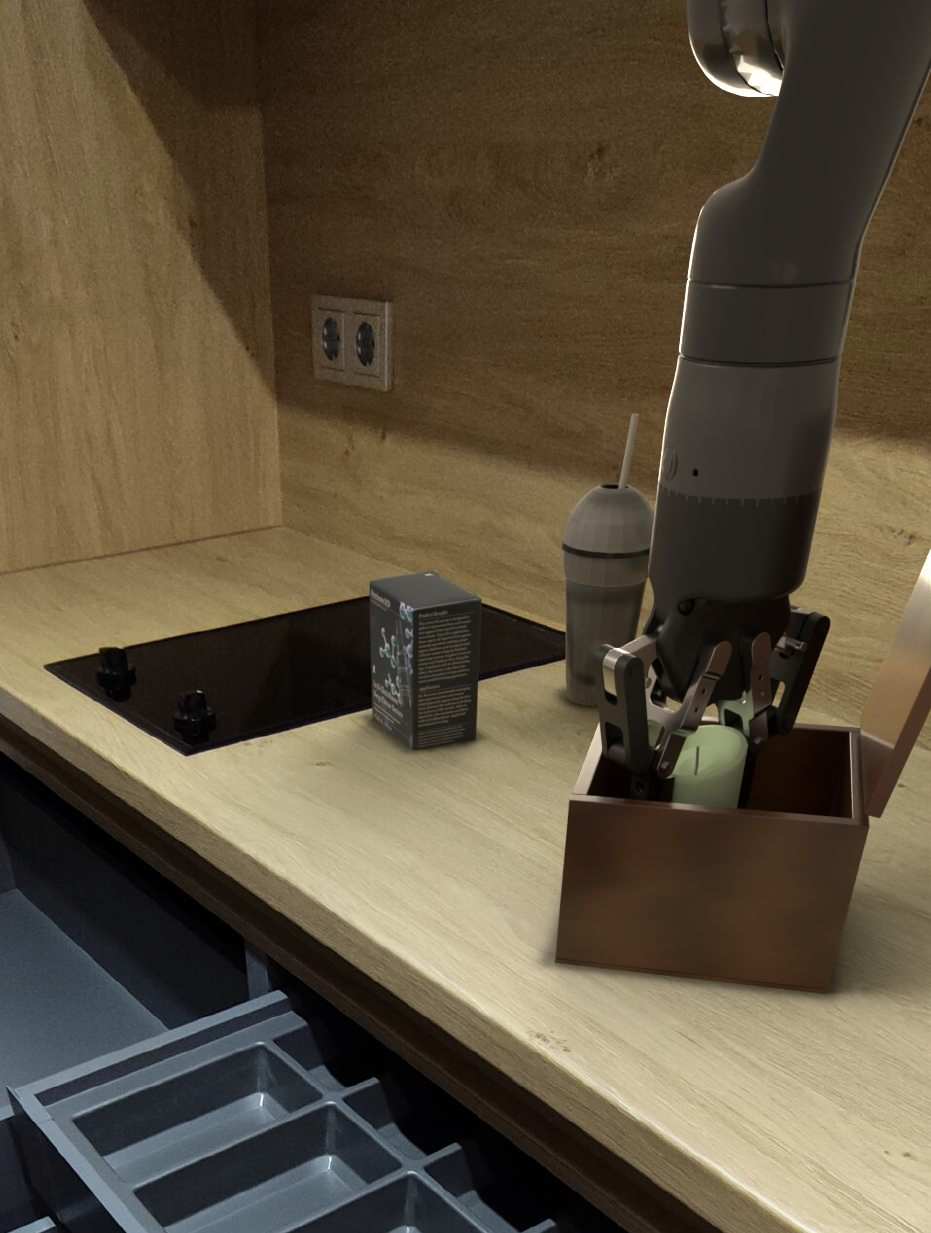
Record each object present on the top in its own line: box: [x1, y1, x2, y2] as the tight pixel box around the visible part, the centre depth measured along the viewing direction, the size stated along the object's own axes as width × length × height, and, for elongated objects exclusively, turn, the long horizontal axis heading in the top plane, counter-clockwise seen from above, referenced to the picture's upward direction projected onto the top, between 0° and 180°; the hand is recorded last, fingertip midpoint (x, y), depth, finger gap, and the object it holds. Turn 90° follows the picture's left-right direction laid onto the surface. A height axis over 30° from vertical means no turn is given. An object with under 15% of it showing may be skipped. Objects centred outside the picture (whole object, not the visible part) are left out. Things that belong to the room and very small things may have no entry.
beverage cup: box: [560, 413, 655, 707], centre depth 95 cm, size 7×7×20 cm
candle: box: [657, 725, 748, 808], centre depth 69 cm, size 5×5×8 cm
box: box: [369, 570, 483, 751], centre depth 93 cm, size 8×6×11 cm
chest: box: [554, 715, 871, 995], centre depth 69 cm, size 15×14×10 cm
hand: (686, 825), depth 69 cm, fingers closed on candle, 5 cm apart
